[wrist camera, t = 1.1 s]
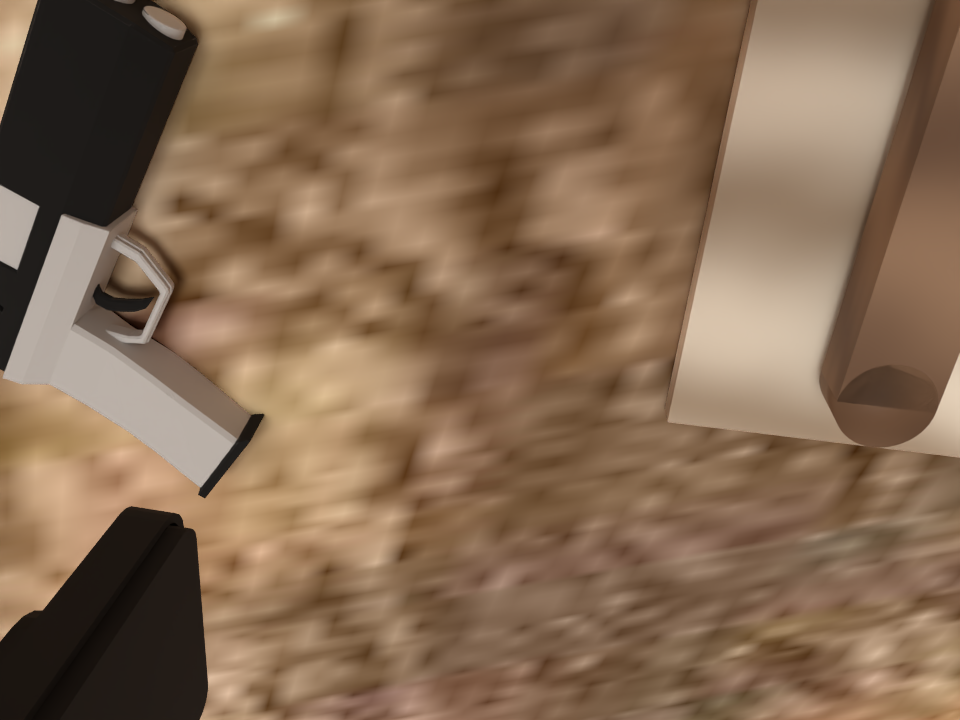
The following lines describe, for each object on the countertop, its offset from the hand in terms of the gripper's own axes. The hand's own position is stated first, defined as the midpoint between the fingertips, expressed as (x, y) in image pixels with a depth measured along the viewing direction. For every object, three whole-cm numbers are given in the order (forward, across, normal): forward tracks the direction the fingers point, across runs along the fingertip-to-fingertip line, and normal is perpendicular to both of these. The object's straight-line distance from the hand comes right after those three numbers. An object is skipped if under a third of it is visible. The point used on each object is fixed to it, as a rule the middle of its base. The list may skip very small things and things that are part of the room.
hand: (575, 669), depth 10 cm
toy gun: (+20, +14, +4) cm, 25 cm away
